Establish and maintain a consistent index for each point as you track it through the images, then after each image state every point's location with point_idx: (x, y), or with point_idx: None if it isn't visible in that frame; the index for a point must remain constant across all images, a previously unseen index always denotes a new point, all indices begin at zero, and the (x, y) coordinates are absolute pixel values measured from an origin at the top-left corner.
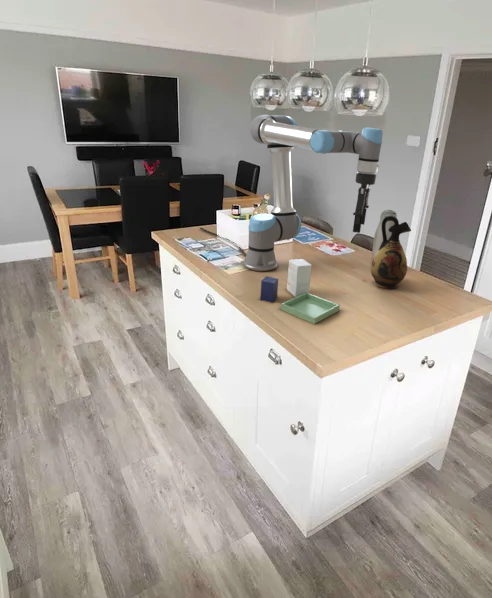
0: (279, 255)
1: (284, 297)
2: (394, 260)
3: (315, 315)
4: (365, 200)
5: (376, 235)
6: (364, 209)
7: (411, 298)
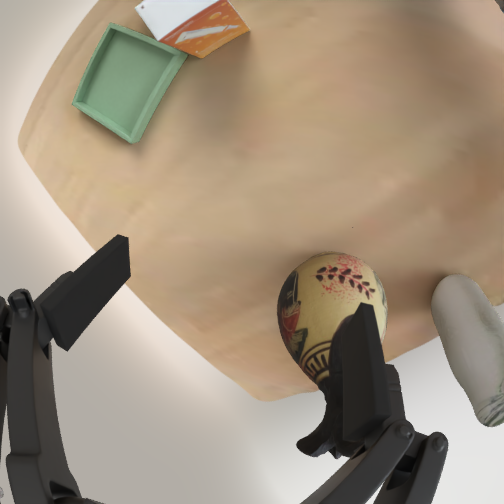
0: (495, 18)
1: None
2: (284, 337)
3: (101, 97)
4: (71, 474)
5: (487, 329)
6: (351, 426)
7: (254, 311)
